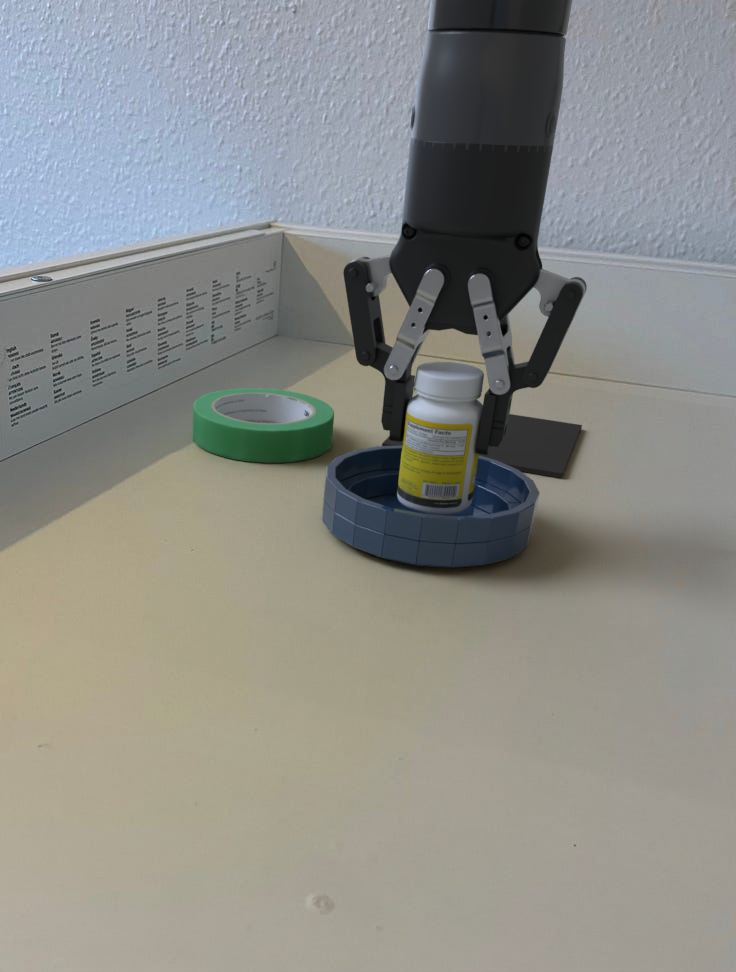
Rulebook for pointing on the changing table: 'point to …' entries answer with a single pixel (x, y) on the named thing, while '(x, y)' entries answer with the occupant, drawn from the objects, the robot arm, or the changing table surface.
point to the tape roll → (262, 425)
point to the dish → (421, 536)
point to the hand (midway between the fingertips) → (440, 443)
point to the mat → (533, 445)
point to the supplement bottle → (441, 439)
